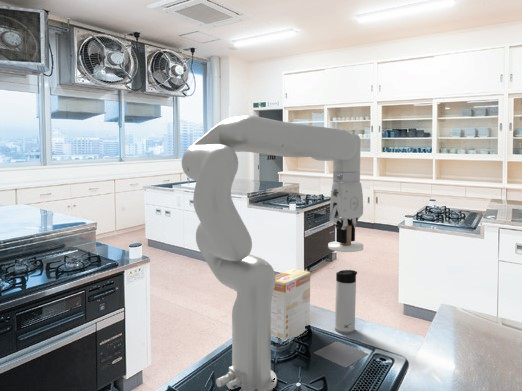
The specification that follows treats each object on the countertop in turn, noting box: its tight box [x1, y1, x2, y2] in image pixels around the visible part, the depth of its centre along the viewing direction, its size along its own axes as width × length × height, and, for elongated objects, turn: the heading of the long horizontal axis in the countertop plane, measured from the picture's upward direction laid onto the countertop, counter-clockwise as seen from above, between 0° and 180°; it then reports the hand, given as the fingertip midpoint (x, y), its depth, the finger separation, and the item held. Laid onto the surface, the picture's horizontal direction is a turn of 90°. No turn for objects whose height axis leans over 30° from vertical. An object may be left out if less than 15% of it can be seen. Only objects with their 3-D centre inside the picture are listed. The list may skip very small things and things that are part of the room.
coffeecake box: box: [271, 268, 311, 340], centre depth 125 cm, size 15×7×20 cm, turn 142°
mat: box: [313, 340, 369, 368], centre depth 114 cm, size 11×11×1 cm
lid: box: [327, 225, 364, 253], centre depth 116 cm, size 10×10×6 cm
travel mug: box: [334, 269, 358, 335], centre depth 128 cm, size 6×7×20 cm
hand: (345, 241), depth 116 cm, fingers closed on lid, 3 cm apart
